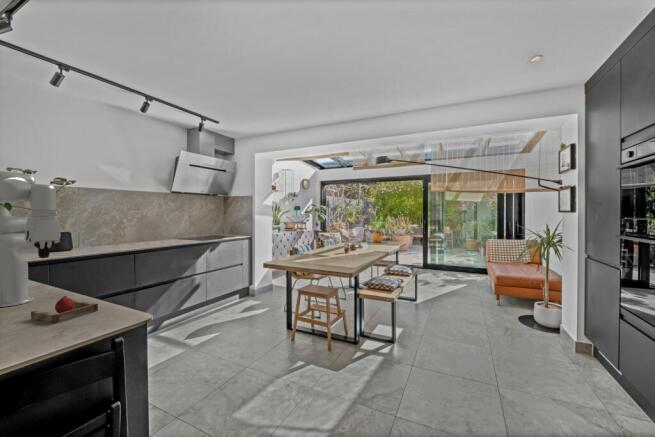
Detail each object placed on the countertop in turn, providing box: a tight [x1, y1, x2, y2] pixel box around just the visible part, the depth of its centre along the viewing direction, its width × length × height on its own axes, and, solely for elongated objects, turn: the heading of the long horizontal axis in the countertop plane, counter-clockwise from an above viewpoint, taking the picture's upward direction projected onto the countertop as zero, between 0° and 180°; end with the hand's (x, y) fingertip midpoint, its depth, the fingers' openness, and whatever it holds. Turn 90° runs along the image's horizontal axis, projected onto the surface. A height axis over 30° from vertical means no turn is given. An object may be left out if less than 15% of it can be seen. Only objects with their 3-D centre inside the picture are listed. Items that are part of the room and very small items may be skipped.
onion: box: [54, 294, 75, 314], centre depth 116 cm, size 6×6×8 cm
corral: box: [30, 300, 99, 325], centre depth 116 cm, size 14×15×3 cm
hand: (43, 257), depth 121 cm, fingers closed
